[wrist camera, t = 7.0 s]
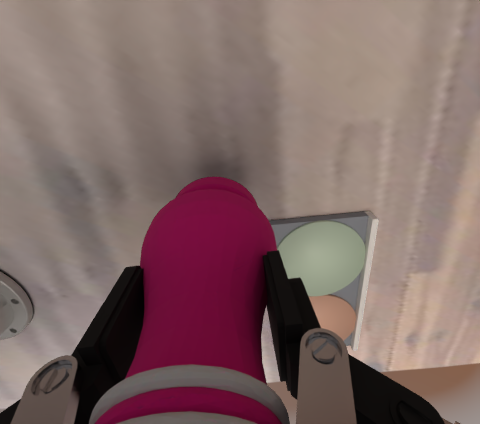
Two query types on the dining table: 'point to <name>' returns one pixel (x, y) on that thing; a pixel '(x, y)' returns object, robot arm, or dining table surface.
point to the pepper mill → (200, 316)
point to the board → (331, 265)
